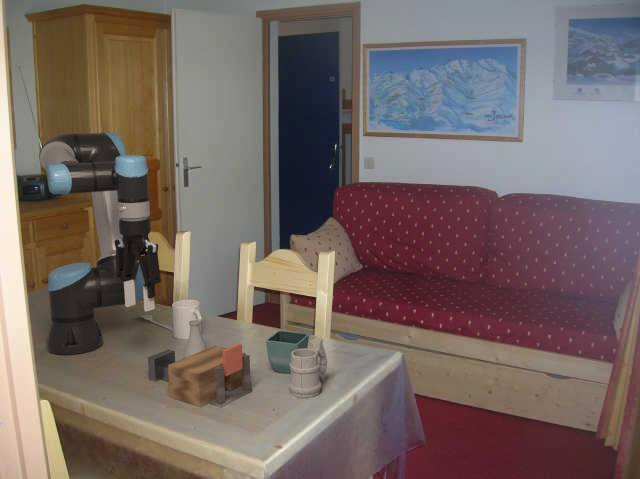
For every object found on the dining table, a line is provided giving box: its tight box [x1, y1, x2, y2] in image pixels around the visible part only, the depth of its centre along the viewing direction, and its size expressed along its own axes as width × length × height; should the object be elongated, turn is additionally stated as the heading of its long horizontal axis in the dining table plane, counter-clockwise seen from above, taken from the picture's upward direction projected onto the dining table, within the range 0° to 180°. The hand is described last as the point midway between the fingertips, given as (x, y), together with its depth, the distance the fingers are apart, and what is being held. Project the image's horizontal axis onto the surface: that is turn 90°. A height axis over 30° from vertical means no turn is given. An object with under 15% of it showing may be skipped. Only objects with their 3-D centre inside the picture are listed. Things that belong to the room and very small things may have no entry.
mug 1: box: [171, 299, 203, 340], centre depth 205 cm, size 8×12×10 cm, turn 41°
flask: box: [182, 320, 208, 359], centre depth 189 cm, size 7×7×10 cm
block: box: [168, 345, 253, 408], centre depth 165 cm, size 14×16×9 cm
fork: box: [134, 314, 173, 332], centre depth 219 cm, size 3×21×3 cm, turn 50°
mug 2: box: [288, 336, 328, 399], centre depth 166 cm, size 8×12×12 cm, turn 141°
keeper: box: [222, 342, 243, 376], centre depth 161 cm, size 1×6×6 cm, turn 146°
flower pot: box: [265, 330, 310, 375], centre depth 179 cm, size 9×9×9 cm
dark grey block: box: [147, 348, 176, 384], centre depth 173 cm, size 12×7×6 cm, turn 55°
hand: (139, 307), depth 177 cm, fingers open, 6 cm apart
